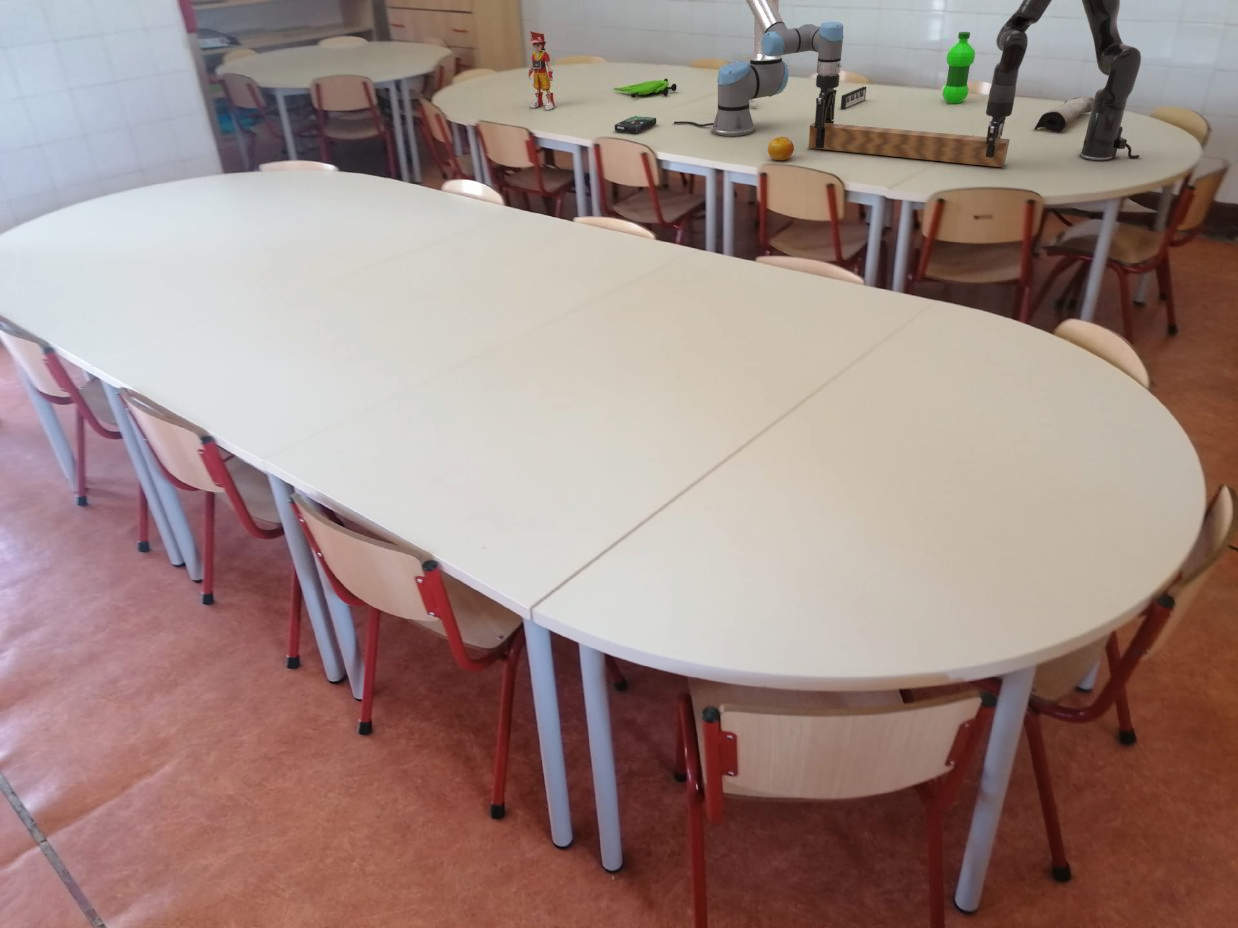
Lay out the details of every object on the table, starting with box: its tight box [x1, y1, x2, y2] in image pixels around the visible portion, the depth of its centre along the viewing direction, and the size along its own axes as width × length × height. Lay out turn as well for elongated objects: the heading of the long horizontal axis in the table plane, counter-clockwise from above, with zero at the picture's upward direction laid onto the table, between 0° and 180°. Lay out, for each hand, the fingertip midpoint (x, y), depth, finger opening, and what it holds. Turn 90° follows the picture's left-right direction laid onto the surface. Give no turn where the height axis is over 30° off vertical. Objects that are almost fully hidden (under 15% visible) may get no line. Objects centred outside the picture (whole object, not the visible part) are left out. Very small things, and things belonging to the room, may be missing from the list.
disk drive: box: [614, 115, 657, 135], centre depth 346 cm, size 10×3×15 cm
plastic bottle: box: [942, 31, 976, 104], centre depth 348 cm, size 10×10×25 cm
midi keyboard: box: [840, 86, 867, 110], centre depth 358 cm, size 18×1×5 cm, turn 138°
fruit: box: [767, 136, 795, 161], centre depth 303 cm, size 8×8×8 cm
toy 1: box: [527, 31, 556, 111], centre depth 374 cm, size 12×9×30 cm
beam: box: [808, 121, 1010, 168], centre depth 298 cm, size 64×5×8 cm, turn 59°
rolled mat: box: [1034, 96, 1094, 133], centre depth 322 cm, size 30×9×10 cm
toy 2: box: [612, 78, 677, 99], centre depth 396 cm, size 28×5×30 cm
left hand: (822, 145), depth 312 cm, fingers closed on beam, 5 cm apart
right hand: (991, 154), depth 286 cm, fingers closed on beam, 5 cm apart
